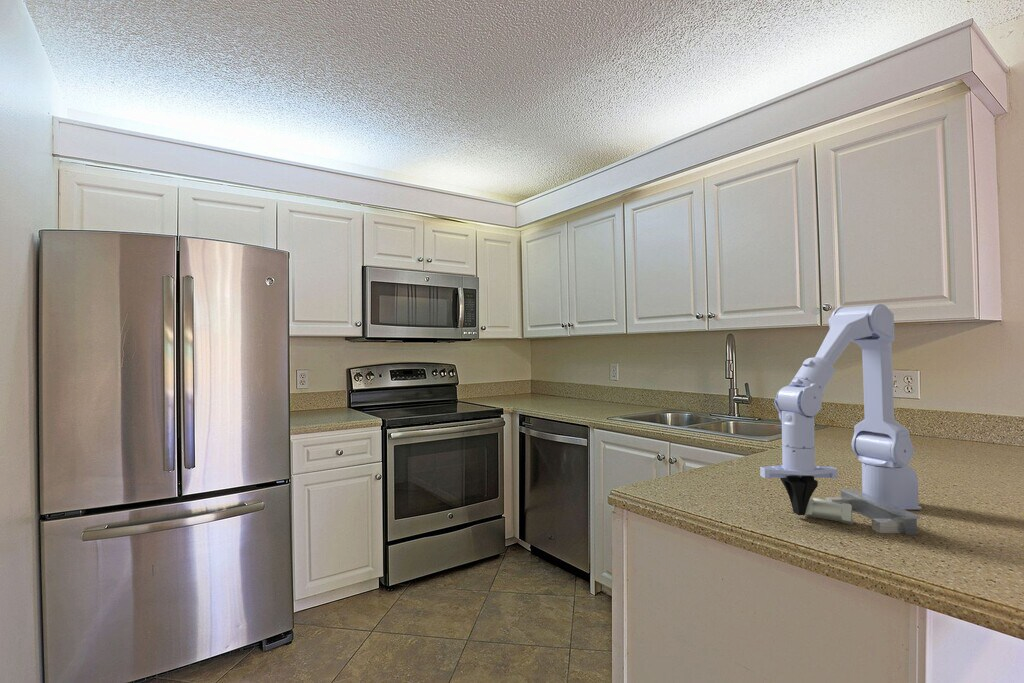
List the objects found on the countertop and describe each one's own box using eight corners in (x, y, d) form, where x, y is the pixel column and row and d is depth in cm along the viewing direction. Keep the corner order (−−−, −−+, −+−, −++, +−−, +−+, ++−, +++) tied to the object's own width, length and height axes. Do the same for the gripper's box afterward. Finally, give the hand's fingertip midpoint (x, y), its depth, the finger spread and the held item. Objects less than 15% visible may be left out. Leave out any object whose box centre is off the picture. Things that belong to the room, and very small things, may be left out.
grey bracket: (853, 504, 109) (852, 488, 109) (920, 535, 91) (919, 515, 91) (822, 504, 109) (822, 488, 109) (884, 535, 91) (883, 516, 91)
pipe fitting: (807, 512, 105) (803, 518, 100) (807, 493, 106) (803, 498, 100) (853, 519, 101) (851, 526, 95) (852, 500, 101) (851, 505, 95)
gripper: (822, 442, 104) (823, 507, 104) (752, 442, 104) (753, 507, 104) (844, 448, 97) (845, 518, 97) (769, 449, 97) (770, 518, 97)
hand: (799, 513), depth 100 cm, fingers closed
